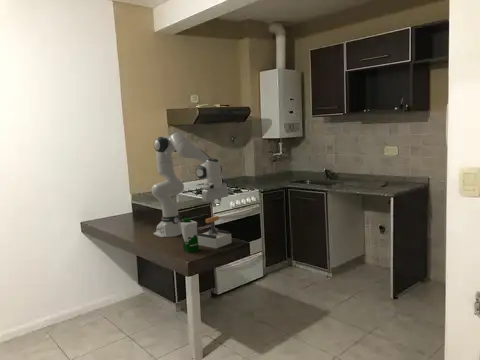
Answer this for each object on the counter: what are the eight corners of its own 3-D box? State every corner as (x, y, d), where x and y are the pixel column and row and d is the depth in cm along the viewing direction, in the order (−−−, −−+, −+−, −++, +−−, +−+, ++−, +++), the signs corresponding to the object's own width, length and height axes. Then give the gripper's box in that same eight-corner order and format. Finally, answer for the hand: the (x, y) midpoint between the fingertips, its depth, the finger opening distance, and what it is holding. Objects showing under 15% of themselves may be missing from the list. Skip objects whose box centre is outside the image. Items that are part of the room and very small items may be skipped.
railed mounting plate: (197, 235, 259) (197, 233, 259) (212, 230, 269) (212, 228, 268) (214, 238, 248) (214, 236, 248) (229, 233, 258) (229, 231, 258)
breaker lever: (206, 235, 255) (205, 219, 254) (217, 231, 263) (216, 215, 261) (208, 235, 254) (207, 219, 253) (219, 231, 261) (218, 216, 260)
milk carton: (194, 247, 254) (191, 216, 251) (201, 250, 247) (198, 218, 244) (181, 250, 249) (178, 219, 246) (188, 253, 242) (185, 221, 239)
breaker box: (196, 244, 260) (195, 230, 259) (212, 239, 270) (211, 225, 269) (216, 248, 248) (215, 233, 247) (231, 242, 258) (230, 228, 257)
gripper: (222, 181, 261) (224, 202, 262) (199, 186, 246) (201, 208, 247) (229, 182, 256) (231, 203, 258) (206, 187, 241) (208, 209, 243)
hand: (216, 206), depth 253 cm, fingers open, 2 cm apart
